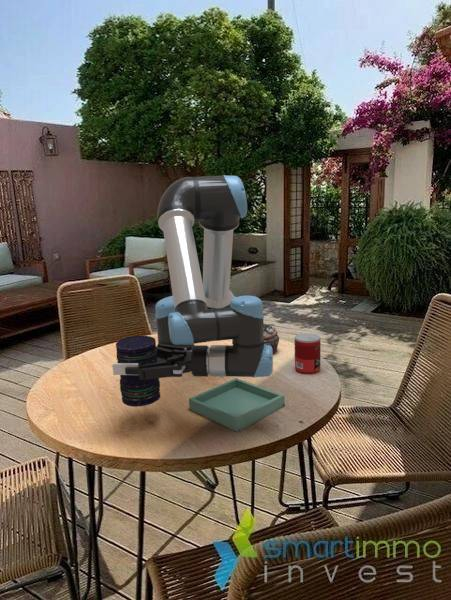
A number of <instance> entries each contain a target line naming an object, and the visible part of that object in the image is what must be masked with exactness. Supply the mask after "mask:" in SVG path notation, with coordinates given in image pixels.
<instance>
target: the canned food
mask: <svg viewBox="0 0 451 600" xmlns="http://www.w3.org/2000/svg"><path fill="white" fill-rule="evenodd" d="M321 346H322V345H321V336H320V335H318V334H316V333H309V332H306V333H305V332H304V333H299V334H296V335H294V369H295V371H296V372H298V373H300V374H303V375H314V374H317V373H319V372H320V370H321Z"/></svg>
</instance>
